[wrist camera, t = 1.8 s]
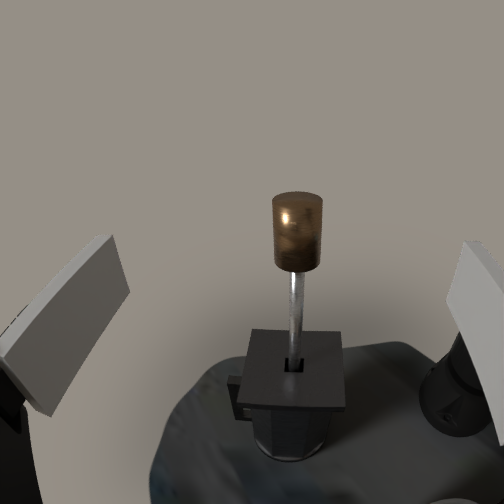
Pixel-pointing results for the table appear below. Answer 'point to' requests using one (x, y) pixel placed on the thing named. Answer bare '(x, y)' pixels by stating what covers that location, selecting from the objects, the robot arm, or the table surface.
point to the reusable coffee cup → (454, 501)
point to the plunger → (297, 255)
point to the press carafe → (289, 392)
